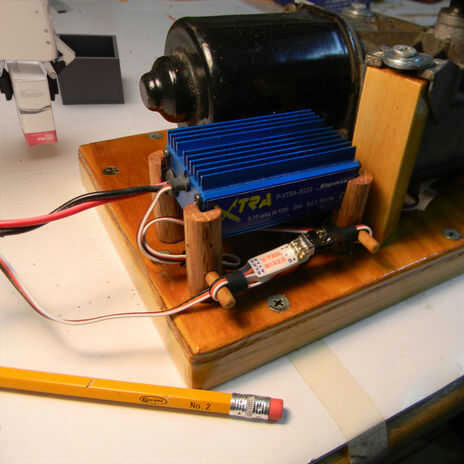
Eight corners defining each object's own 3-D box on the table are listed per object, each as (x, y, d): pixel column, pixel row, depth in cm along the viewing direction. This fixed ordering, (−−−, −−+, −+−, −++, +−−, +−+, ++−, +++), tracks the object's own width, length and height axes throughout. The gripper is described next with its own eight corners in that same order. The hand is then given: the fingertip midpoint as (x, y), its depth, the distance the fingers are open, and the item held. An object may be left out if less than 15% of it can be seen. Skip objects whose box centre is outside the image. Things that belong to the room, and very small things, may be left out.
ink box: (60, 143, 83) (47, 77, 75) (28, 147, 80) (11, 80, 73) (49, 120, 88) (36, 57, 81) (19, 124, 85) (2, 59, 78)
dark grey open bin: (62, 104, 99) (53, 57, 92) (64, 77, 108) (55, 33, 102) (124, 103, 103) (119, 58, 97) (120, 77, 113) (115, 35, 106)
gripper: (73, -20, 74) (87, 89, 86) (-59, -33, 68) (-25, 87, 79) (72, -7, 69) (87, 107, 80) (-71, -19, 63) (-33, 107, 74)
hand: (31, 96), depth 80 cm, fingers closed on ink box, 5 cm apart
